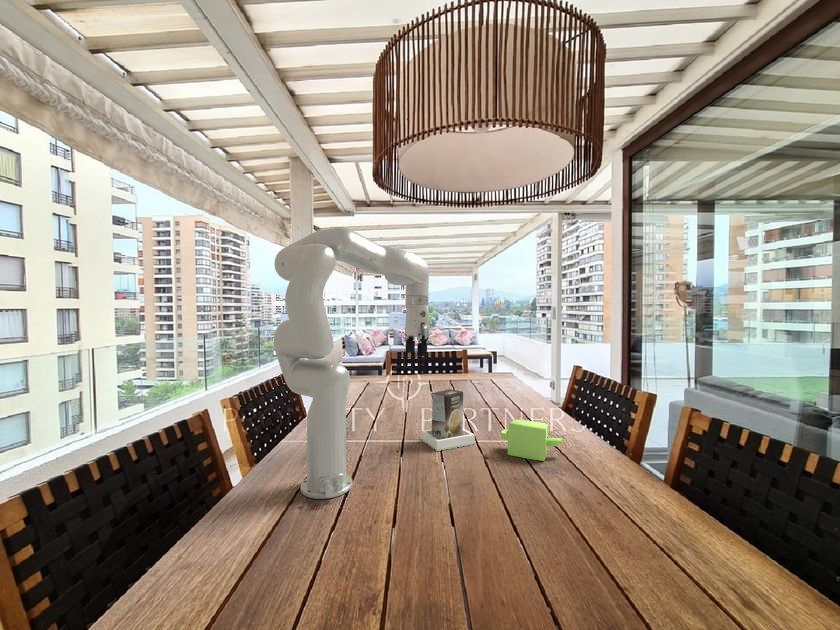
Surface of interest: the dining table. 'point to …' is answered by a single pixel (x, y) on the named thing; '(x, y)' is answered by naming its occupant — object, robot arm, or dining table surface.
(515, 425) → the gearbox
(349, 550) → the dining table surface
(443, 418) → the coffee box
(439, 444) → the locating tray
